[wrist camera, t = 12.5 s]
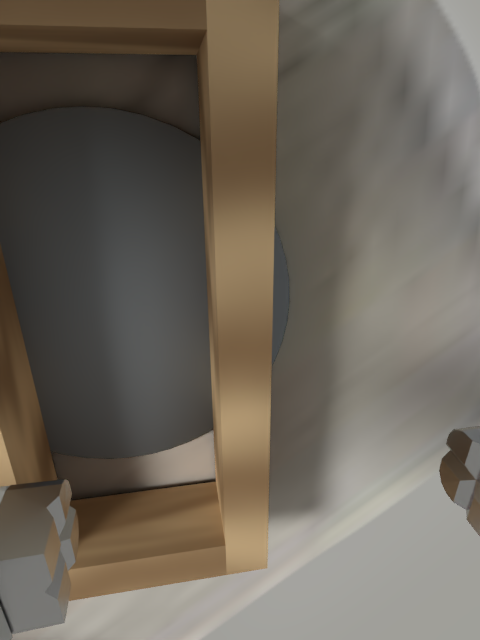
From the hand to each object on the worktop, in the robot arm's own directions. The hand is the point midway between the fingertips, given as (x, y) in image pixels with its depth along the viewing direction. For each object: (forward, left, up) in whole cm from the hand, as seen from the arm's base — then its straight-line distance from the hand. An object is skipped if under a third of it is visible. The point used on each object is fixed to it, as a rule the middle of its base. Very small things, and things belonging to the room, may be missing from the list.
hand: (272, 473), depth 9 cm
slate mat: (0, -5, -11) cm, 12 cm away
